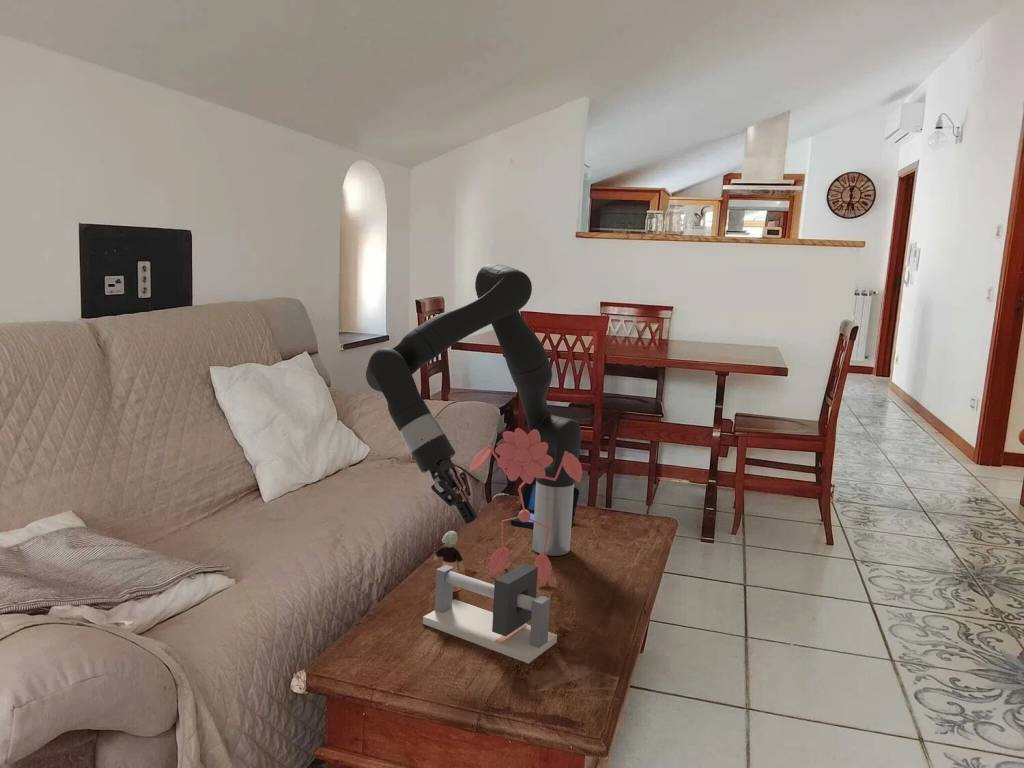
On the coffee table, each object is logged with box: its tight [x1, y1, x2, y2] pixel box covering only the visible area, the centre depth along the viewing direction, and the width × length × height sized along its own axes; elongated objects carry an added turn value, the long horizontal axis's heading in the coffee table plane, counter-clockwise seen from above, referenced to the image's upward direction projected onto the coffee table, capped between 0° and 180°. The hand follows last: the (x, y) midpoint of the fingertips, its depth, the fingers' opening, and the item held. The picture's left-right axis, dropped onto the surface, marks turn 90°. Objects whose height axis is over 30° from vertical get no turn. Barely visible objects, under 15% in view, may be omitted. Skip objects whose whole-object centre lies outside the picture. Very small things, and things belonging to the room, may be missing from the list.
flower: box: [469, 427, 583, 598], centre depth 171 cm, size 15×26×35 cm, turn 72°
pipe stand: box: [422, 565, 558, 665], centre depth 150 cm, size 10×24×10 cm, turn 57°
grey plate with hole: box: [492, 562, 538, 636], centre depth 147 cm, size 10×3×10 cm, turn 147°
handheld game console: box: [509, 480, 580, 529], centre depth 215 cm, size 16×13×9 cm
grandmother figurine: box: [433, 530, 465, 593], centre depth 169 cm, size 8×4×13 cm, turn 71°
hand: (472, 521), depth 151 cm, fingers closed
